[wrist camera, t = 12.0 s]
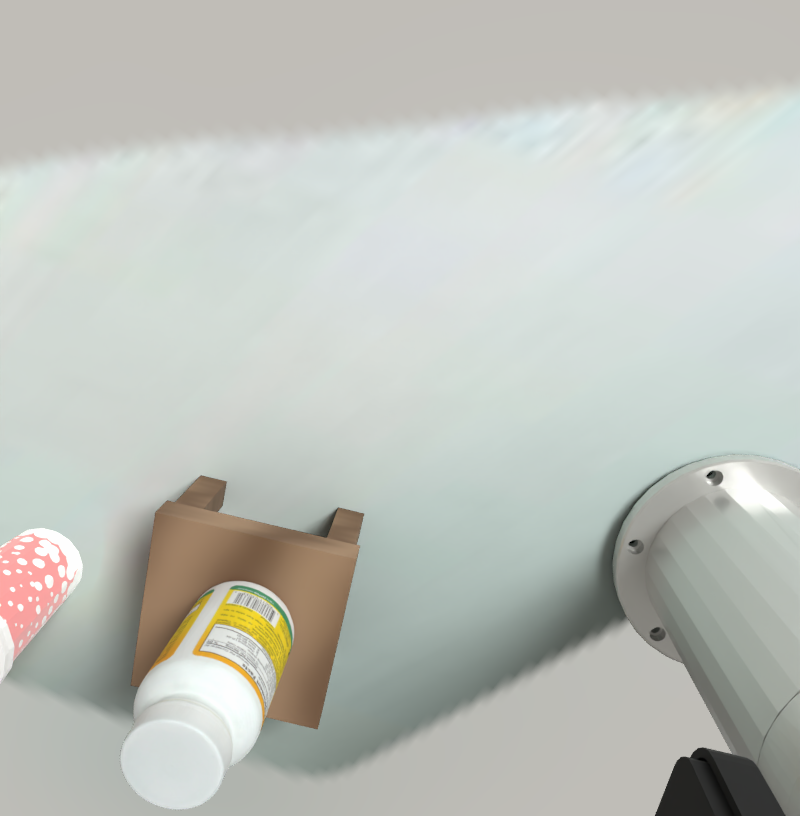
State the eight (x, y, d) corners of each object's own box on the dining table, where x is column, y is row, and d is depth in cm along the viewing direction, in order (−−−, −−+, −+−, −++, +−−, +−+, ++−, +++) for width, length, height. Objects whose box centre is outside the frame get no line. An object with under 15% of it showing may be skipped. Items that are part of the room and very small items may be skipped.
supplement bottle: (281, 569, 35) (221, 695, 26) (307, 663, 36) (259, 816, 27) (177, 586, 36) (82, 715, 26) (207, 679, 37) (126, 833, 28)
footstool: (369, 510, 40) (356, 559, 35) (334, 660, 43) (317, 729, 37) (197, 470, 40) (155, 512, 35) (173, 622, 43) (130, 685, 37)
